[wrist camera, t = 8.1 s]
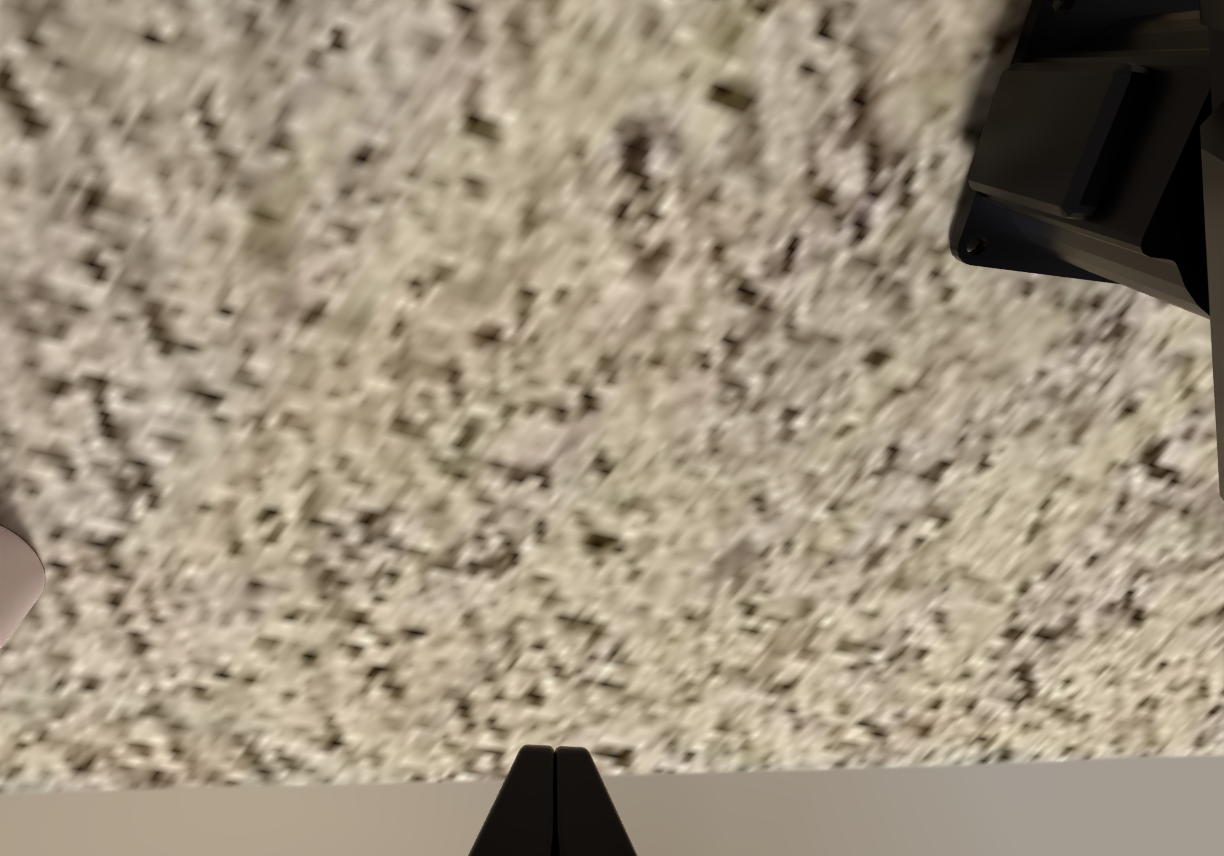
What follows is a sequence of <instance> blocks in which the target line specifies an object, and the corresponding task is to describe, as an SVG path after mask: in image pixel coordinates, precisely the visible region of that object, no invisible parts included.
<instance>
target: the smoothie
mask: <svg viewBox="0 0 1224 856" xmlns="http://www.w3.org/2000/svg"><path fill="white" fill-rule="evenodd" d="M44 585H45V573H44V569H43V566H42V564H41V562H40V560H39V558H38V556H37V555H36V553H35V552H34V551H33V550H32V549H31V547H30V546H29V545H28V544H27V543H26V542H25V541H23V540H22V539H21V538H20V537H19V536H17V535H16V534H14V533H13V532H11V531H9V530H8V529H6V528H4V527H2V526H0V649H1V648H2V646H3V645H4V644H5V642H6V641H7V640H8V638H9V637H10V636H11V634H12V633H13V632H14V630H15V629H16V628H17V626H18V625H19V623H20V622H21V621H22V619H23V618H24V617H25V615H26V614H27V613H28V611H29V610H30V609H31V607H32V606H33V605H34V603H35V602H36V601H37V599H38V598H39V596H40V595H41V593H42V591H43V589H44Z"/></svg>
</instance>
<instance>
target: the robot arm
mask: <svg viewBox="0 0 1224 856" xmlns="http://www.w3.org/2000/svg"><path fill="white" fill-rule="evenodd" d="M1052 4H1053V0H1032V3H1031V6H1030V9H1029V12H1028V15H1027V18H1026V21H1025V24H1024V27H1023V30H1022V33H1021V36H1020V39H1019V41H1018V44H1017V47H1016V50H1015V53H1014V56H1013V59H1012V62H1011V65H1010V67H1009V68H1007V69H1006V70H1005V71H1004V72H1003V73H1002V75H1001V77H1000V80H999V83H998V86H997V89H996V92H995V95H994V98H993V101H992V104H991V107H990V110H989V113H988V116H987V119H986V122H985V125H984V128H983V131H982V134H981V137H980V140H979V143H978V146H977V149H976V152H975V155H974V158H973V161H972V164H971V167H970V170H969V173H968V176H967V179H968V182H969V184H970V186H969V189H968V192H967V195H966V198H965V201H964V204H963V207H962V210H961V213H960V216H959V219H958V222H957V225H956V228H955V231H954V233H953V236H952V239H951V245H950V249H951V253H952V255H953V256H954V257H955V258H956V259H957V260H959V261H961V262H963V263H966V264H969V265H974V266H982V267H989V268H997V269H1005V270H1013V271H1021V272H1029V273H1037V274H1045V275H1053V276H1060V277H1068V278H1076V279H1084V280H1092V281H1100V282H1108V283H1116V284H1122V285H1124V286H1127V287H1129V288H1132V289H1134V290H1137V291H1140V292H1142V293H1145V294H1147V295H1150V296H1152V297H1155V298H1157V299H1160V300H1162V301H1165V302H1167V303H1170V304H1172V305H1175V306H1177V307H1180V308H1182V309H1185V310H1187V311H1190V312H1192V313H1195V314H1197V315H1200V316H1202V317H1205V318H1207V319H1210V324H1211V342H1212V361H1213V379H1214V397H1215V416H1216V434H1217V452H1218V471H1219V489H1220V496H1221V497H1222V499H1223V500H1224V0H1064V4H1063V6H1062V8H1061V9H1060V11H1058V12H1057V13H1056V12H1055V11H1054V9H1053V7H1052ZM975 236H978V238H979V242H978V245H977V247H976V248H975V249H974V250H972V251H971V252H968V251H967V244H968V243H969V241H970V240H971V239H972V238H974V237H975ZM468 856H637V854H636V852H635V849H634V847H633V845H632V843H631V841H630V839H629V837H628V835H627V832H626V830H625V828H624V826H623V824H622V821H621V819H620V817H619V815H618V813H617V811H616V809H615V806H614V804H613V802H612V800H611V798H610V796H609V794H608V791H607V789H606V787H605V785H604V783H603V781H602V778H601V776H600V774H599V772H598V770H597V767H596V765H595V763H594V761H593V759H592V757H591V755H590V753H589V751H588V750H587V749H585V748H583V747H567V746H560V747H558V748H556V750H555V752H554V749H553V748H552V747H551V746H546V745H524V746H523V747H522V748H521V749H520V751H519V752H518V754H517V757H516V759H515V761H514V763H513V765H512V767H511V769H510V771H509V773H508V775H507V777H506V779H505V781H504V783H503V786H502V788H501V789H500V791H499V794H498V796H497V798H496V800H495V802H494V804H493V806H492V808H491V810H490V812H489V814H488V816H487V818H486V820H485V822H484V825H483V826H482V829H481V830H480V832H479V834H478V837H477V839H476V841H475V843H474V845H473V847H472V849H471V851H470V853H469V855H468Z"/></svg>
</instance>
